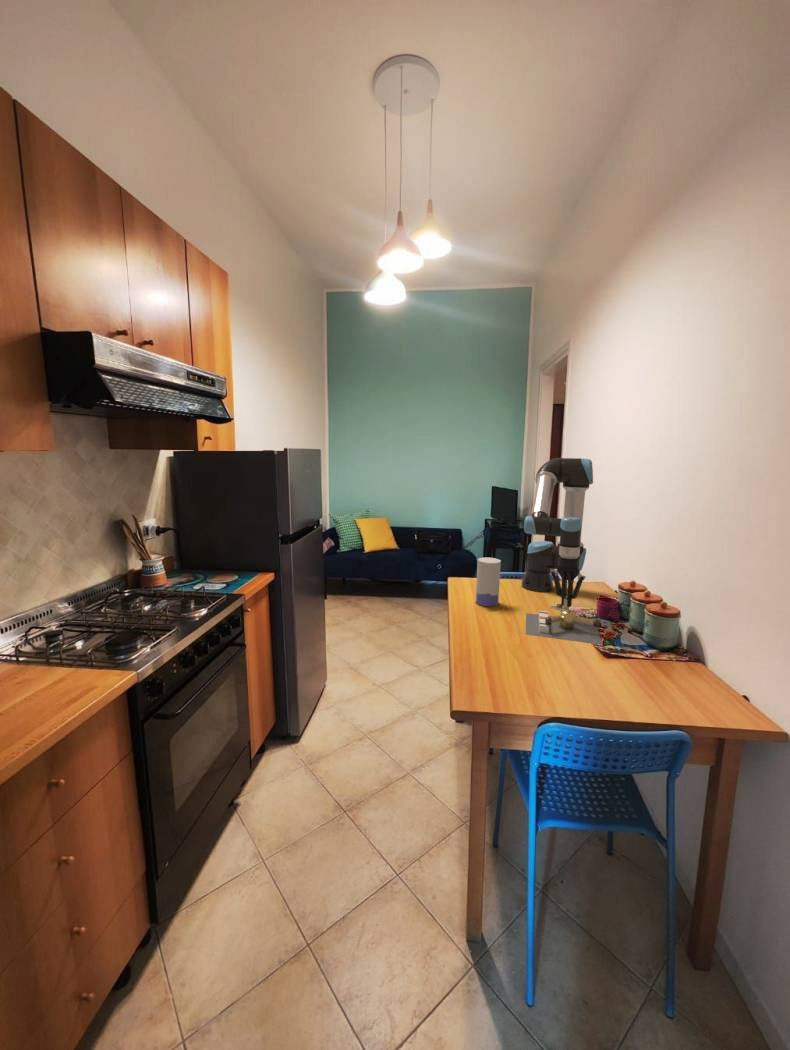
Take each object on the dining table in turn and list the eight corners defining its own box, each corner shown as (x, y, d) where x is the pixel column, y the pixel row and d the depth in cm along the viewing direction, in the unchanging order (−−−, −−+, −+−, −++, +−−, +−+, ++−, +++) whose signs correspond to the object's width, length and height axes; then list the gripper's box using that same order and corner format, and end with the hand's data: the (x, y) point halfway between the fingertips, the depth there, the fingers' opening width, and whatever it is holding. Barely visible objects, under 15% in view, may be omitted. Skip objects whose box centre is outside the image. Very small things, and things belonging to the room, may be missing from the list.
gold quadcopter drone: (555, 614, 175) (556, 598, 174) (602, 625, 165) (604, 608, 164) (542, 631, 159) (543, 613, 158) (593, 643, 149) (595, 624, 148)
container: (496, 599, 196) (499, 557, 193) (499, 607, 186) (502, 563, 183) (474, 598, 197) (476, 556, 194) (476, 606, 187) (478, 562, 184)
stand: (525, 615, 177) (526, 606, 177) (593, 624, 170) (594, 614, 169) (525, 637, 157) (526, 627, 156) (602, 648, 149) (604, 637, 148)
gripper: (549, 555, 169) (546, 612, 172) (582, 560, 160) (578, 620, 164) (556, 552, 174) (553, 608, 178) (589, 557, 166) (585, 615, 169)
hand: (565, 613), depth 171 cm, fingers closed
